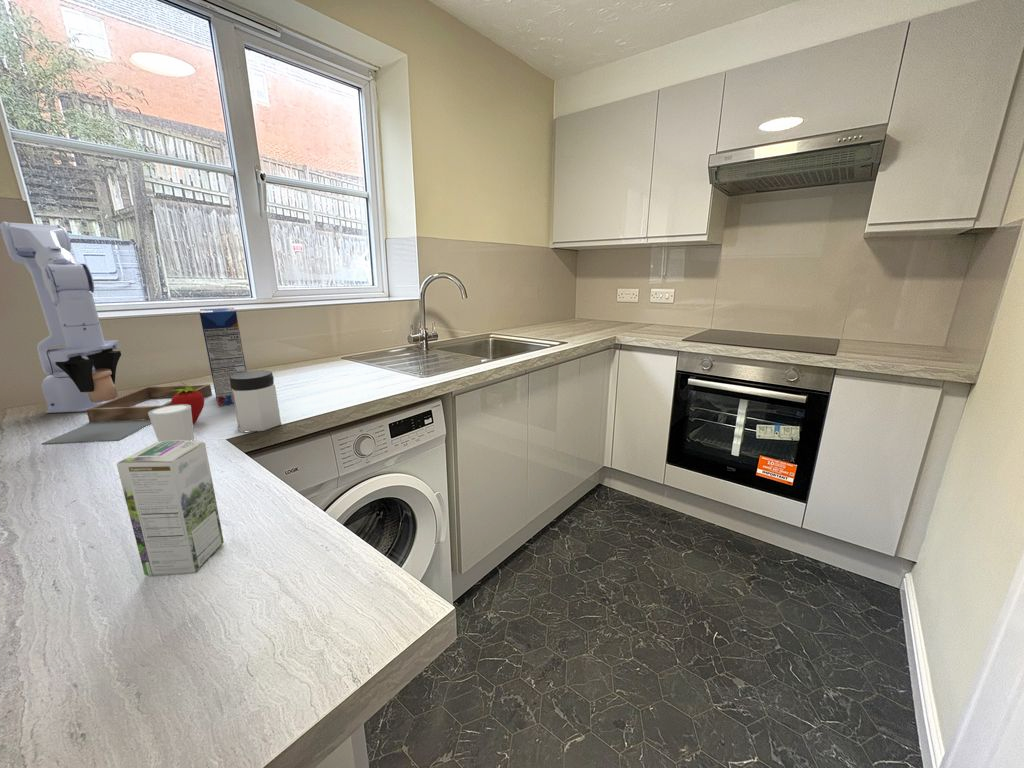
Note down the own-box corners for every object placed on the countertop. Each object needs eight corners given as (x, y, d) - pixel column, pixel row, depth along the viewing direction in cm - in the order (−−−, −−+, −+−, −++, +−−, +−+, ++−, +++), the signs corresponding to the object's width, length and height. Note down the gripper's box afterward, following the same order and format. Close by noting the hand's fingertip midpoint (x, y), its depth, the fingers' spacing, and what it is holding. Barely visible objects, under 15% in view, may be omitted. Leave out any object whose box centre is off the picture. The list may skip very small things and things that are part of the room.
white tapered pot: (205, 437, 87) (199, 405, 86) (170, 450, 81) (162, 416, 79) (183, 433, 90) (176, 402, 88) (147, 445, 83) (139, 412, 81)
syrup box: (178, 545, 53) (152, 440, 49) (227, 543, 53) (205, 438, 50) (144, 577, 48) (111, 461, 44) (198, 574, 48) (171, 459, 44)
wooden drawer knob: (81, 403, 88) (70, 377, 86) (100, 394, 93) (90, 369, 90) (109, 402, 88) (98, 376, 86) (126, 393, 93) (117, 367, 91)
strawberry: (173, 430, 91) (163, 386, 88) (180, 420, 97) (170, 378, 95) (206, 426, 94) (197, 383, 91) (210, 416, 100) (202, 375, 97)
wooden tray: (89, 422, 96) (86, 409, 95) (149, 396, 115) (146, 386, 114) (165, 418, 98) (163, 406, 97) (212, 394, 117) (210, 384, 116)
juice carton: (217, 395, 116) (200, 309, 110) (248, 391, 120) (233, 307, 114) (218, 406, 107) (199, 312, 100) (251, 401, 111) (236, 311, 105)
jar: (284, 427, 93) (276, 375, 90) (241, 436, 88) (231, 381, 85) (276, 416, 100) (268, 368, 97) (236, 424, 95) (226, 373, 92)
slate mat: (41, 444, 84) (41, 443, 84) (90, 423, 95) (90, 422, 95) (119, 440, 86) (119, 439, 86) (158, 420, 97) (158, 419, 97)
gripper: (72, 328, 79) (91, 396, 83) (128, 320, 93) (142, 378, 97) (30, 329, 78) (51, 398, 82) (92, 320, 92) (108, 380, 96)
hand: (98, 388), depth 89 cm, fingers closed on wooden drawer knob, 5 cm apart
